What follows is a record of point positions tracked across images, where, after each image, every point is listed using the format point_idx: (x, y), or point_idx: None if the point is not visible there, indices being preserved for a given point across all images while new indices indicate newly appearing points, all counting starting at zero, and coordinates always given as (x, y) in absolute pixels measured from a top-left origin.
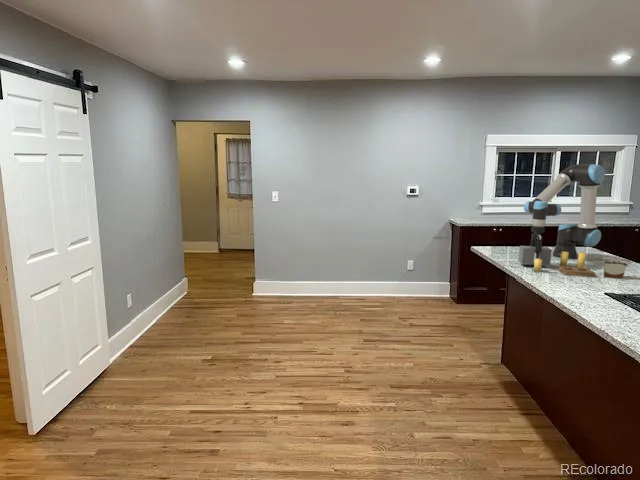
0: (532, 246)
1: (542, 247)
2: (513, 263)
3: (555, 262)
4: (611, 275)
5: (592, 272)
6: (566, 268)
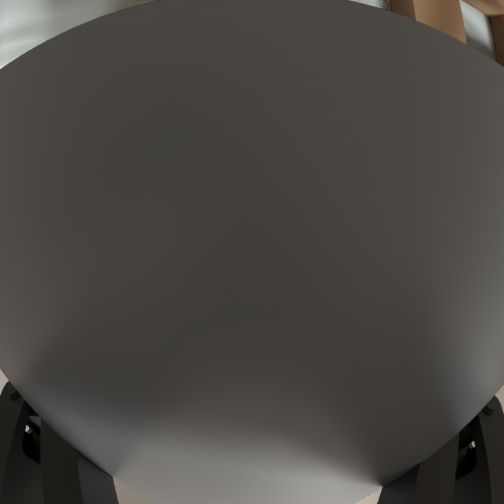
0: (120, 477)
1: (80, 397)
2: None
3: (28, 18)
4: None
5: None
6: (458, 14)
